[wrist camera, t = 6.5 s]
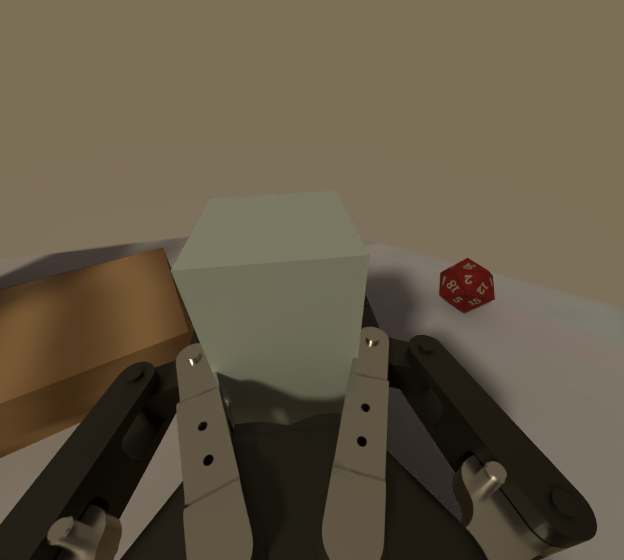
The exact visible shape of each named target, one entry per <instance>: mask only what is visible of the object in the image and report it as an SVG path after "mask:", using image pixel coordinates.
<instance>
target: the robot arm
mask: <svg viewBox="0 0 624 560" xmlns="http://www.w3.org/2000/svg"><path fill="white" fill-rule="evenodd" d="M389 387H393V388H398V389H400V390H401V392H402V393H403V395H404V396H405V398H406V399H407V401H408V402H409V404H410V405H411V407H412V408H413V410H414V411H415V413H416V414H417V416H418V417H419V419H420V420H421V422H422V423H423V425H424V426H425V428H426V429H427V431H428V432H429V434H430V435H431V437H432V438H433V440H434V441H435V443H436V444H437V446H438V447H439V449H440V450H441V452H442V453H443V455H444V456H445V458H446V459H447V461H448V462H449V464H450V465H451V467H452V468H453V470H454V471H455V475H454V477H453V481H452V486H453V491H454V494H455V497H456V499H457V501H458V503H459V505H460V508H461V511H462V518H463V521H462V523H461V522H460V521H459V520H458V519H457V518H456V517H455V516H453V515H452V514H451V513H450V512H449V511H448V510H447V509H446V508H445V507H444V506H443V505H442V504H441V503H440V502H439V501H438V500H437V499H436V498H435V497H434V496H433V495H432V494H431V493H430V492H429V491H428V490H427V489H426V488H425V487H424V486H423V485H422V484H421V483H420V482H419V481H418V480H417V479H416V478H415V477H413V476H412V475H411V474H410V473H409V472H408V471H407V470H406V469H405V468H404V467H403V466H402V465H401V464H400V463H399V462H398V461H397V460H396V459H395V458H394V457H393V456H392V455H391V454H390V453H389V452H388V451H387V450H386V443H387V419H388V394H389ZM176 413H177V422H178V432H179V443H180V453H181V464H182V475H183V481H182V483H181V484H180V485H179V487H178V488H177V489H176V490H175V492H174V493H173V494H172V495H171V497H170V498H169V499H168V500H167V502H166V503H165V504H164V505H163V507H162V508H161V509H160V510H159V512H158V513H157V514H156V515H155V517H154V518H153V519H152V520H151V522H150V523H149V524H148V525H147V527H146V528H145V529H144V530H143V532H142V533H141V534H140V535H139V537H138V538H137V539H136V540H135V542H134V543H133V544H132V545H131V547H130V548H129V549H128V550H127V552H126V553H125V554H124V555H123V557H122V558H121V559H120V560H540V559H543V558H545V557H548V556H550V555H553V554H555V553H558V552H560V551H563V550H565V549H568V548H570V547H573V546H575V545H578V544H580V543H583V542H585V541H588V540H590V539H591V538H593V537H594V536H595V534H596V531H597V522H596V518H595V515H594V513H593V511H592V509H591V507H590V505H589V504H588V502H587V501H586V500H585V498H584V497H583V496H582V495H581V494H580V493H579V491H578V490H577V489H576V488H575V487H574V486H573V485H572V484H571V483H570V482H569V481H568V480H567V479H566V478H565V476H564V475H563V474H562V473H561V472H560V471H559V470H558V469H557V468H556V467H555V466H554V465H553V464H552V462H551V461H550V460H549V459H548V458H547V457H546V456H545V455H544V454H543V453H542V452H541V451H540V450H539V449H538V447H537V446H536V445H535V444H534V443H533V442H532V441H531V440H530V439H529V438H528V437H527V436H526V435H525V434H524V432H523V431H522V430H521V429H520V428H519V427H518V426H517V425H516V424H515V423H514V422H513V421H512V420H511V418H510V417H509V416H508V415H507V414H506V413H505V412H504V411H503V410H502V409H501V408H500V407H499V406H498V405H497V403H496V402H495V401H494V400H493V399H492V398H491V397H490V396H489V395H488V394H487V393H486V392H485V391H484V390H483V388H482V387H481V386H480V385H479V384H478V383H477V382H476V381H475V380H474V379H473V378H472V377H471V376H470V375H469V373H468V372H467V371H466V370H465V369H464V368H463V367H462V366H461V365H460V364H459V363H458V362H457V361H456V359H455V358H454V357H453V356H452V355H451V354H450V353H449V352H448V351H447V350H446V349H445V348H444V347H443V346H442V344H441V343H440V342H439V341H437V340H436V339H434V338H432V337H430V336H426V335H418V336H415V337H413V338H412V339H411V340H410V342H406V341H400V340H395V339H392V338H390V337H388V336H387V334H386V333H385V332H384V331H382V330H381V329H380V328H379V326H378V324H377V321H376V319H375V316H374V314H373V311H372V309H371V307H370V304H369V301H368V299H367V297H366V294H365V300H364V308H363V317H362V326H361V334H360V343H359V352H358V357H355V358H353V359H352V364H351V370H350V373H349V378H348V383H347V389H346V395H345V400H344V406H343V412H342V418H341V420H340V415H339V412H337V413H328V414H319V415H313V416H310V417H308V418H305V419H303V420H300V421H298V422H295V423H292V424H290V425H282V424H276V423H269V422H263V421H258V422H249V423H241V424H235V423H234V419H233V415H232V411H231V408H230V405H229V403H226V402H225V399H224V396H223V393H222V389H221V385H220V381H219V378H218V375H217V373H216V372H212V370H211V368H210V365H209V363H208V361H207V358H206V356H205V353H204V351H203V348H202V346H201V344H200V341H199V339H198V336H197V334H196V331H195V330H194V333H193V336H192V339H191V342H190V345H189V346H187V347H186V348H184V349H183V350H182V351H181V352H180V353H179V354H178V356H177V358H176V360H174V361H171V362H169V363H166V364H163V365H160V366H158V367H154V366H153V364H151V363H149V362H138V363H135V364H132V365H130V366H129V367H127V368H126V369H124V370H123V371H122V372H121V373H120V374H119V375H118V377H117V378H116V379H115V380H114V382H113V383H112V384H111V385H110V387H109V388H108V389H107V390H106V392H105V393H104V394H103V395H102V397H101V398H100V399H99V401H98V402H97V403H96V404H95V406H94V407H93V408H92V409H91V411H90V412H89V413H88V414H87V416H86V417H85V418H84V419H83V421H82V422H81V423H80V425H79V426H78V427H77V428H76V430H75V431H74V432H73V433H72V435H71V436H70V437H69V438H68V440H67V441H66V442H65V443H64V445H63V446H62V447H61V449H60V450H59V451H58V452H57V454H56V455H55V456H54V457H53V459H52V460H51V461H50V462H49V464H48V465H47V466H46V467H45V469H44V470H43V471H42V473H41V474H40V475H39V476H38V478H37V479H36V480H35V481H34V483H33V484H32V485H31V486H30V488H29V489H28V490H27V491H26V493H25V494H24V495H23V497H22V498H21V499H20V500H19V502H18V503H17V504H16V505H15V507H14V508H13V509H12V510H11V512H10V513H9V514H8V515H7V517H6V518H5V519H4V520H3V522H2V523H1V524H0V560H114V556H115V555H116V553H117V551H118V547H119V543H120V539H121V534H122V526H121V523H120V521H119V519H120V517H121V515H122V513H123V511H124V509H125V508H126V506H127V504H128V502H129V500H130V498H131V496H132V494H133V493H134V491H135V489H136V487H137V485H138V483H139V481H140V479H141V478H142V476H143V474H144V472H145V470H146V468H147V466H148V464H149V463H150V461H151V459H152V457H153V455H154V453H155V451H156V450H157V448H158V446H159V444H160V442H161V440H162V438H163V436H164V435H165V433H166V431H167V429H168V427H169V425H170V423H171V421H172V420H173V418H174V416H175V414H176Z"/></svg>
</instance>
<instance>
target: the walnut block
mask: <svg viewBox="0 0 624 560" xmlns="http://www.w3.org/2000/svg"><path fill="white" fill-rule="evenodd" d="M192 336H193V332H192V329H191V326H190V322H189V319H188V316H187V313H186V310H185V307H184V304H183V301H182V298H181V295H180V292H179V290H178V287H177V285H176V282H175V280H174V278H173V275H172V273H171V267H170V264H169V262H168V259H167V257H166V255H165V252H164V250H163V248H159V249H155V250H152V251H148V252H144V253H140V254H136V255H132V256H128V257H124V258H121V259H117V260H113V261H109V262H105V263H101V264H97V265H93V266H89V267H86V268H82V269H78V270H74V271H70V272H66V273H62V274H58V275H55V276H51V277H47V278H43V279H39V280H35V281H31V282H27V283H23V284H20V285H16V286H12V287H8V288H4V289H0V458H1V457H4V456H6V455H8V454H10V453H13V452H15V451H17V450H19V449H22V448H24V447H26V446H28V445H31V444H33V443H35V442H37V441H40V440H42V439H44V438H46V437H49V436H51V435H53V434H55V433H58V432H60V431H62V430H64V429H67V428H69V427H71V426H73V425H76V424H78V423H80V422H82V421H83V419H84V418H85V417H86V416H87V414H88V413H89V412H90V411H91V409H92V408H93V407H94V406H95V404H96V403H97V402H98V401H99V399H100V398H101V397H102V395H103V394H104V393H105V392H106V390H107V389H108V388H109V387H110V385H111V384H112V383H113V382H114V380H115V379H116V378H117V377H118V375H119V374H120V373H121V372H122V371H123V370H124V369H126V368H127V367H129V366H130V365H132V364H135V363H138V362H149V363H151V364H153V366H154V367H158V366H160V365H163V364H166V363H169V362H171V361H174V360H176V358H177V356H178V354H179V353H180V352H181V351H182V350H183V349H184V348H186V347H187V346H189V345H190V342H191V339H192Z"/></svg>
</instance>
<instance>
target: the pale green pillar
mask: <svg viewBox="0 0 624 560" xmlns="http://www.w3.org/2000/svg"><path fill="white" fill-rule="evenodd" d="M369 256H370V255H369V253H368V251H367V249H366V247H365V245H364V243H363V241H362V239H361V237H360V236H359V234H358V232H357V230H356V228H355V226H354V224H353V222H352V220H351V218H350V216H349V214H348V212H347V210H346V208H345V207H344V205H343V203H342V201H341V199H340V197H339V195H338V193H337V191H325V192H324V191H323V192H309V193H308V192H307V193H291V194H276V195H260V196H243V197H227V198H211V199H210V200H209V202H208V204H207V206H206V207H205V209H204V211H203V213H202V215H201V217H200V218H199V220H198V222H197V224H196V225H195V228H194V229H193V231H192V233H191V235H190V236H189V238H188V240H187V242H186V244H185V245H184V247H183V249H182V251H181V253H180V255H179V256H178V258H177V260H176V262H175V264H174V265H173V267H172V269H171V273H172V275H173V278H174V280H175V282H176V285H177V287H178V290H179V292H180V295H181V297H182V300H183V302H184V304H185V307H186V309H187V312H188V314H189V317H190V319H191V322H192V324H193V326H194V329H195V331H196V334H197V336H198V339H199V341H200V344H201V346H202V348H203V351H204V353H205V356H206V358H207V361H208V363H209V365H210V368H211V370H212V372H216V373H217V375H218V378H219V381H220V385H221V389H222V393H223V396H224V399H225V402H226V403H229V405H230V408H231V411H232V415H233V419H234V423H235V424H241V423H249V422H258V421H263V422H269V423H276V424H282V425H290V424H292V423H295V422H298V421H300V420H303V419H305V418H308V417H310V416H313V415H319V414H328V413H337V412H339V415H340V420H341V418H342V412H343V406H344V400H345V395H346V389H347V383H348V378H349V373H350V370H351V364H352V359H353V358H355V357H358V352H359V343H360V334H361V326H362V317H363V308H364V300H365V291H366V282H367V273H368V265H369Z"/></svg>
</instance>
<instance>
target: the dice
mask: <svg viewBox="0 0 624 560" xmlns="http://www.w3.org/2000/svg"><path fill="white" fill-rule="evenodd" d="M439 295H440V296H442V297H443V298H445V299H446V300H447V301H449V302H450V303H451V304H453V305H454V306H455V307H457V308H458V309H459V310H461V311H462V312H463V313H465V312H467V311H469V310H472V309H474V308H476V307H479V306H481V305H483V304H485V303H488V302H490V301H492V300H495V296H494V284H493V275H492V274H491V273H490V272H489V271H488V270H487V269H485V268H483V267H482V266H480V265H478V264H477V263H475V262H473V261H472V260H470V259H468V258H466V259H465V260H463V261H461V262H459V263H457V264H455V265H454V266H452V267H450V268H448V269H446V270H444V271H443V272H441V273H440V290H439Z"/></svg>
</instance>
